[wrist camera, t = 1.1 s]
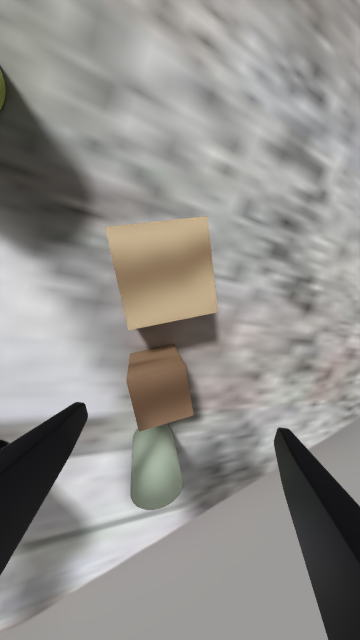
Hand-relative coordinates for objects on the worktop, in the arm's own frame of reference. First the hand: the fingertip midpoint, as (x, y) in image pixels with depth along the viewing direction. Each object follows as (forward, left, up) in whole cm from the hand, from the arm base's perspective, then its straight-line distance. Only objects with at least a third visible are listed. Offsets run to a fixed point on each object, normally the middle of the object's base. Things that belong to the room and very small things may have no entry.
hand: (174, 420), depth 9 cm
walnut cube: (-3, -2, -13) cm, 13 cm away
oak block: (+6, +3, -13) cm, 15 cm away
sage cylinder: (-11, -7, -13) cm, 18 cm away
